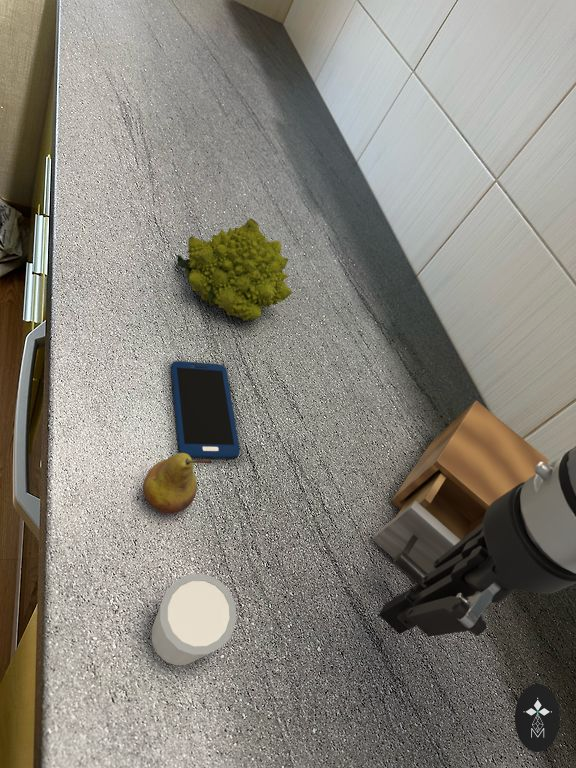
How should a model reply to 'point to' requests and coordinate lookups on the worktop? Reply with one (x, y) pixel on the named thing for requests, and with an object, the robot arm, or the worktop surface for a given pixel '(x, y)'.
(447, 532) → the drawer
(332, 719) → the worktop surface
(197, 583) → the white cup
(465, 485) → the cabinet
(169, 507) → the fruit
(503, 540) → the robot arm
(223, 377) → the cell phone
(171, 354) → the worktop surface
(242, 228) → the vegetable
